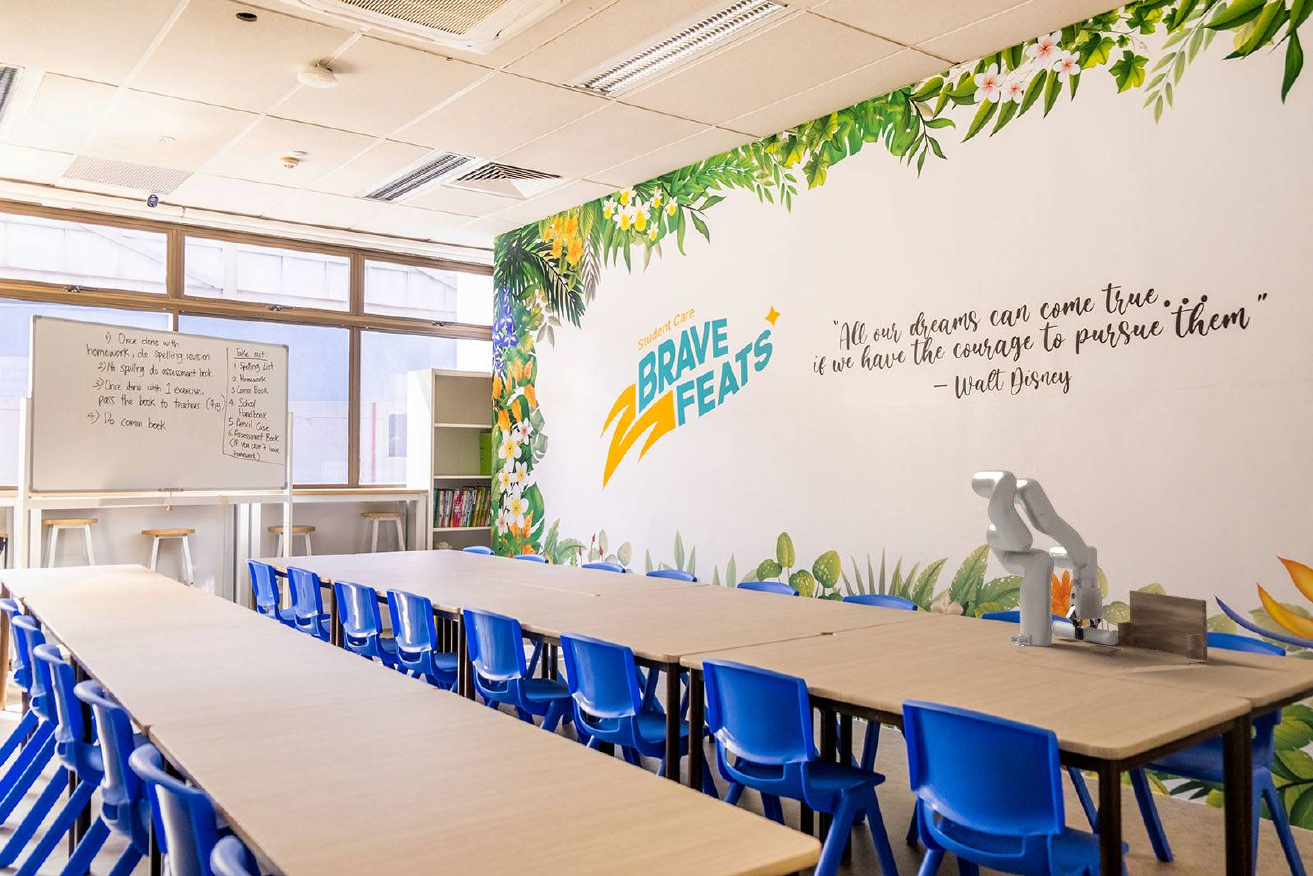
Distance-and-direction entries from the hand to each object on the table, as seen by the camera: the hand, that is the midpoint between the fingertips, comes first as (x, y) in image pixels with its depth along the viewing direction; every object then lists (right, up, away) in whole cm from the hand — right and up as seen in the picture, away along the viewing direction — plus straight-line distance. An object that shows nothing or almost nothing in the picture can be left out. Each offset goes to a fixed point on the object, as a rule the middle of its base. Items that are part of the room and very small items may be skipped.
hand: (1085, 638), depth 329 cm
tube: (0, -1, 0) cm, 1 cm away
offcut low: (-6, -1, -27) cm, 27 cm away
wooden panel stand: (+15, -1, -19) cm, 24 cm away
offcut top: (-6, +1, -26) cm, 27 cm away
